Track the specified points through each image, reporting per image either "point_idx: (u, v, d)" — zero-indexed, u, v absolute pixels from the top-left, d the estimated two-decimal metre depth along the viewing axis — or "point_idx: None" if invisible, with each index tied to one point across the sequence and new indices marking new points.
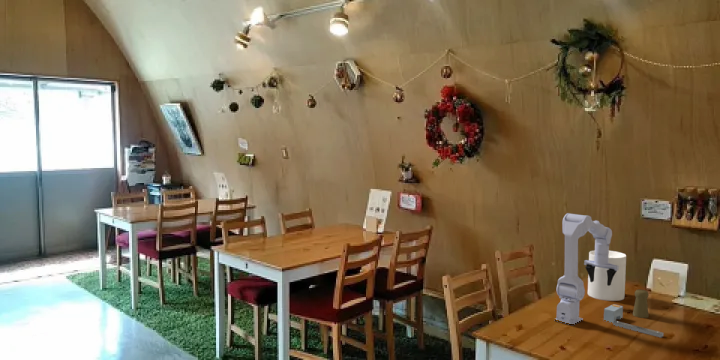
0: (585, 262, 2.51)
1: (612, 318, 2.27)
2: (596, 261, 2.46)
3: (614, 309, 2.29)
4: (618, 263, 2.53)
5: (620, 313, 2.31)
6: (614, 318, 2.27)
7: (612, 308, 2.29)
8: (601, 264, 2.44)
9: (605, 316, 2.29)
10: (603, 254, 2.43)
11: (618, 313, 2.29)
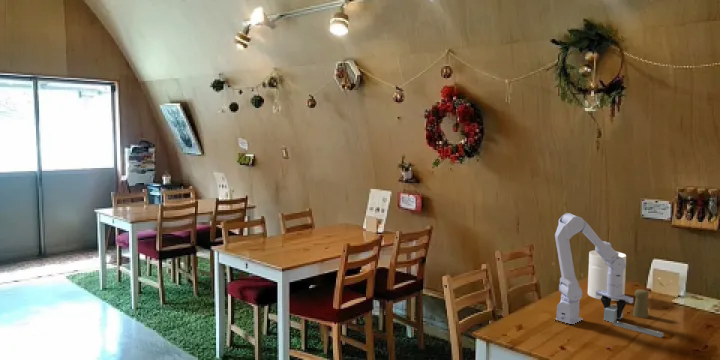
0: (597, 293, 2.34)
1: (612, 318, 2.27)
2: (609, 292, 2.29)
3: (614, 308, 2.29)
4: None
5: None
6: (614, 318, 2.27)
7: (612, 308, 2.29)
8: (614, 296, 2.27)
9: (605, 316, 2.29)
10: (616, 285, 2.27)
11: None
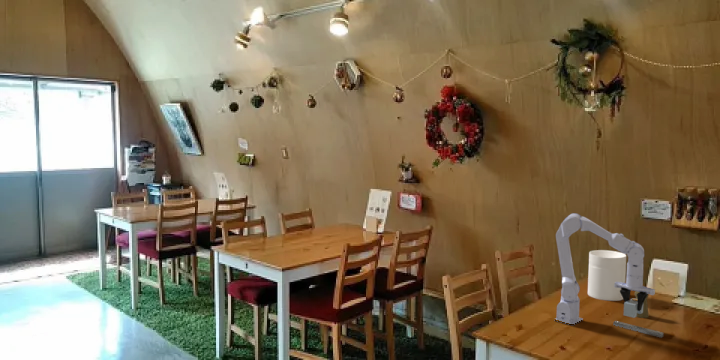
0: (615, 284, 2.22)
1: (633, 312, 2.15)
2: (629, 284, 2.17)
3: (635, 303, 2.17)
4: (618, 263, 2.53)
5: None
6: (635, 312, 2.15)
7: (633, 302, 2.17)
8: (634, 287, 2.15)
9: (625, 310, 2.17)
10: (637, 276, 2.14)
11: None
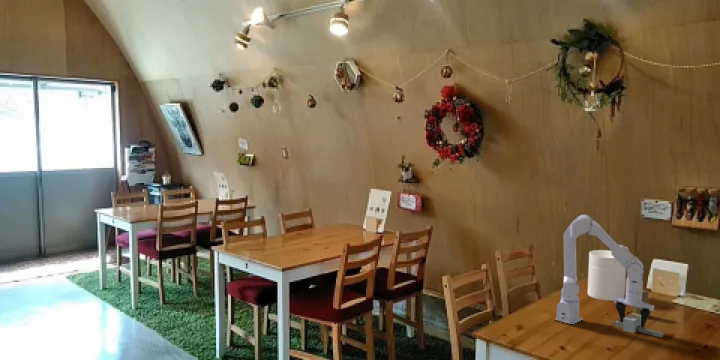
0: (615, 300, 2.23)
1: (632, 328, 2.15)
2: (628, 300, 2.17)
3: (634, 318, 2.17)
4: (618, 263, 2.53)
5: (640, 323, 2.19)
6: (634, 328, 2.16)
7: (632, 317, 2.18)
8: (634, 303, 2.16)
9: (624, 326, 2.17)
10: (636, 292, 2.15)
11: (638, 323, 2.18)
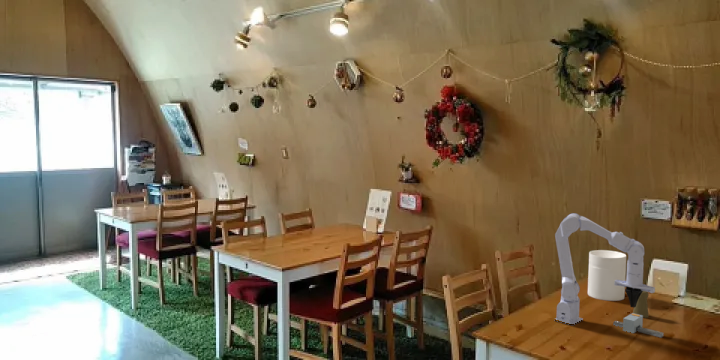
0: (615, 282, 2.22)
1: (632, 328, 2.15)
2: (629, 282, 2.16)
3: (634, 318, 2.17)
4: (618, 263, 2.53)
5: (640, 323, 2.19)
6: (634, 328, 2.16)
7: (632, 317, 2.18)
8: (635, 285, 2.15)
9: (624, 326, 2.17)
10: (637, 274, 2.14)
11: (638, 323, 2.18)
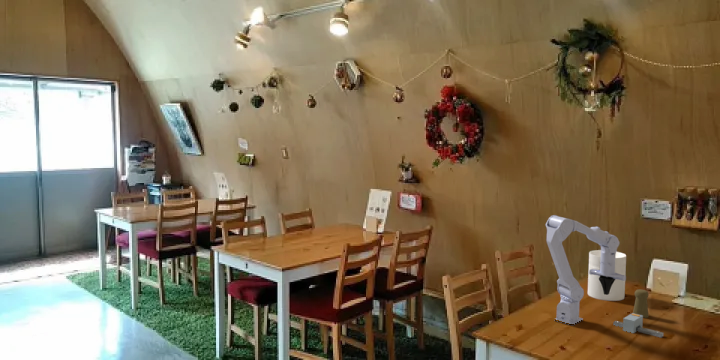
0: (590, 271, 2.37)
1: (632, 328, 2.15)
2: (602, 271, 2.32)
3: (634, 318, 2.17)
4: (618, 263, 2.53)
5: (640, 323, 2.19)
6: (634, 328, 2.16)
7: (632, 318, 2.18)
8: (607, 274, 2.31)
9: (624, 326, 2.17)
10: (609, 263, 2.30)
11: (638, 323, 2.18)
